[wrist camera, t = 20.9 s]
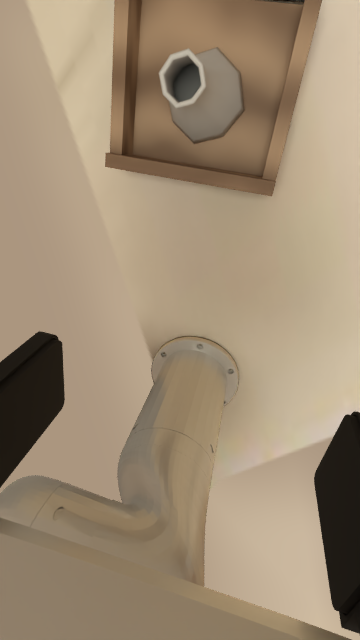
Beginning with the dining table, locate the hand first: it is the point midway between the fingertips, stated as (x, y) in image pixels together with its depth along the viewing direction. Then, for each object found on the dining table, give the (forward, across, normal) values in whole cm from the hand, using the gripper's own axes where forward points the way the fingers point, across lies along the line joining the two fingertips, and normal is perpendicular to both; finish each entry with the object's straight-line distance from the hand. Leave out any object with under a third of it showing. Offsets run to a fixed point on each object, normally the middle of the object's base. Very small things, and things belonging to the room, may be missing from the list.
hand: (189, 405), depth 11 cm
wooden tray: (+30, +6, -11) cm, 33 cm away
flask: (+28, +6, -11) cm, 31 cm away
